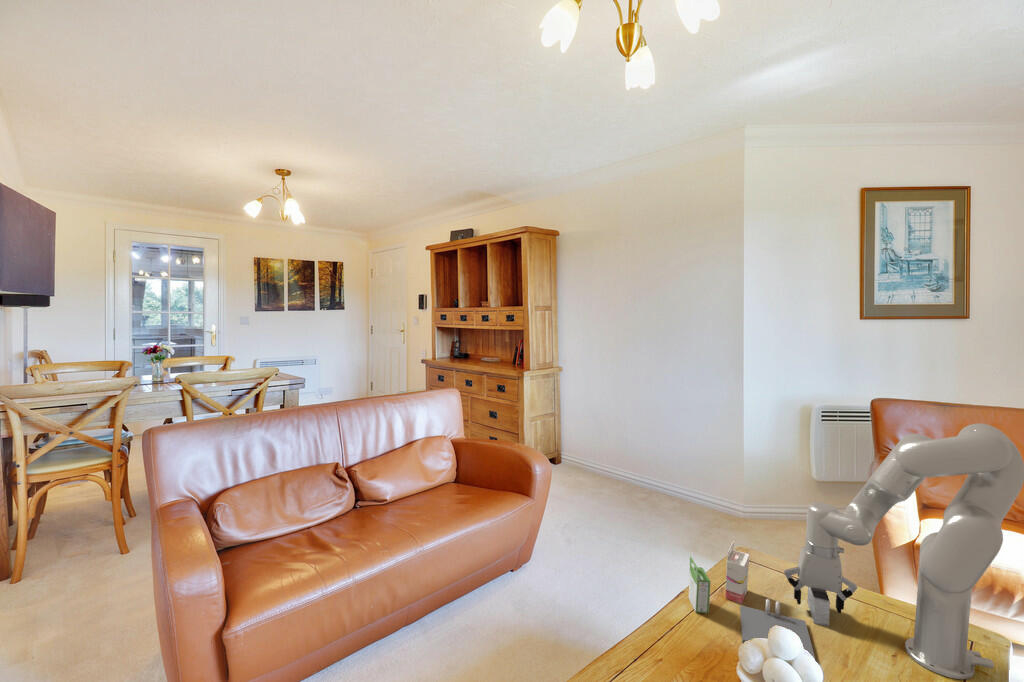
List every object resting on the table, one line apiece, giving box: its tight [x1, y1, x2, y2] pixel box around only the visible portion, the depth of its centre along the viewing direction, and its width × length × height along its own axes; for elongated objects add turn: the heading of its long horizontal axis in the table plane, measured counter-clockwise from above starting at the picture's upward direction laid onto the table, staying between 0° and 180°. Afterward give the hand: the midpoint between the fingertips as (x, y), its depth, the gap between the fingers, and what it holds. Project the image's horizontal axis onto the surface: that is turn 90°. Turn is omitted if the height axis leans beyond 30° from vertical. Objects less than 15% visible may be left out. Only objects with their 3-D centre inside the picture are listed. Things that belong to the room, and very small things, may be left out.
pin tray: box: [739, 598, 816, 659], centre depth 124 cm, size 16×15×5 cm
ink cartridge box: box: [724, 541, 750, 605], centre depth 140 cm, size 9×5×15 cm, turn 144°
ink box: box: [688, 555, 711, 614], centre depth 135 cm, size 7×4×13 cm, turn 175°
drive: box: [807, 587, 831, 627], centre depth 132 cm, size 4×10×7 cm, turn 156°
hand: (818, 606), depth 132 cm, fingers open, 9 cm apart
